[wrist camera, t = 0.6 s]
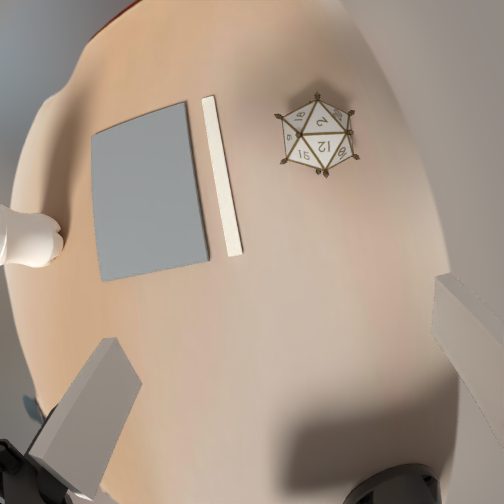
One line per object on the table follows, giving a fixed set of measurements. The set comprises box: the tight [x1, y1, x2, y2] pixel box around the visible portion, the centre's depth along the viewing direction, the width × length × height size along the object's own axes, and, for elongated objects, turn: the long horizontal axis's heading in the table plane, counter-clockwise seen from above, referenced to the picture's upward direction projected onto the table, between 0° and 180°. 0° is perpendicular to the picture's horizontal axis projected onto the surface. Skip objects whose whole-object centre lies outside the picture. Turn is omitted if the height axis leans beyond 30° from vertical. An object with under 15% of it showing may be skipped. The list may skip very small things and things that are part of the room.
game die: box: [274, 92, 360, 178], centre depth 28 cm, size 9×8×10 cm
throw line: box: [202, 96, 243, 257], centre depth 33 cm, size 20×2×1 cm, turn 11°
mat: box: [91, 103, 209, 282], centre depth 34 cm, size 20×14×1 cm
